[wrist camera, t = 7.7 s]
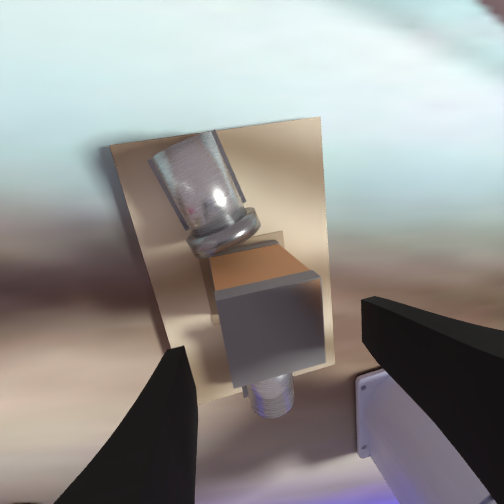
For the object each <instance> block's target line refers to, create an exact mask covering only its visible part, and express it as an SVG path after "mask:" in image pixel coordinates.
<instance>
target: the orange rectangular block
mask: <svg viewBox="0 0 504 504" xmlns="http://www.w3.org/2000/svg"><path fill="white" fill-rule="evenodd" d="M208 258H209V263H210V268H211V273H212V278H213V283H214V288H215V291H214V294H215V300H216V305H217V310H218V315H219V320H220V325H221V330H222V334H223V339H224V344H225V349H226V354H227V359H228V364H229V369H230V373H231V378H232V383H233V388H234V389H235V388H239V387H242V386H246V385H249V384H253V383H256V382H260V381H263V380H267V379H270V378H274V377H277V376H281V375H284V374H288V373H292V372H295V371H299V370H302V369H306V368H309V367H313V366H316V365H320V364H323V363H326V352H325V334H324V316H323V298H322V280H321V276H319V275H318V274H317V273H316V272H315V271H313V270H309V269H308V268H307V267H306V266H305V265H303V264H302V263H301V262H300V261H299V260H297V259H296V258H295V257H294V256H293V255H291V254H290V253H289V252H288V251H287V250H285V249H284V248H283V247H282V246H281V245H280V244H279V242H278V241H276V240H271V241H266V242H261V243H255V244H250V245H245V246H240V247H235V248H232V249H230V250H228V251H225V252H223V253H220V254H217V255H214V256H211V257H208Z"/></svg>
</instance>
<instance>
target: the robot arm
mask: <svg viewBox="0 0 504 504" xmlns="http://www.w3.org/2000/svg"><path fill="white" fill-rule="evenodd" d="M361 314H362V342H363V343H364V345H365V346H366V348H367V349H368V350H369V352H370V353H371V355H372V356H373V357H374V358H375V360H376V361H377V362H378V364H379V365H380V366H381V367H382V368H383V369H380V370H376V371H373V372H370V373H367V374H364V375H360V376H358V377H357V379H356V381H355V385H356V420H357V453H358V455H359V457H360V458H366V457H369V456H371V458H372V460H373V461H374V463H375V464H376V466H377V468H378V469H379V471H380V472H381V474H382V476H383V477H384V479H385V480H386V482H387V484H388V485H389V487H390V488H391V490H392V492H393V493H394V495H395V497H396V498H397V500H398V501H399V503H400V504H504V331H502V330H497V329H492V328H488V327H483V326H479V325H475V324H471V323H467V322H463V321H460V320H456V319H452V318H448V317H445V316H441V315H438V314H434V313H431V312H428V311H424V310H421V309H418V308H415V307H411V306H408V305H405V304H402V303H398V302H395V301H392V300H388V299H385V298H381V297H376V296H373V297H370V298H366V299H362V300H361ZM197 432H198V406H197V391H196V385H195V382H194V378H193V375H192V371H191V368H190V364H189V361H188V357H187V354H186V350H185V346H184V345H183V346H179V347H176V348H172V349H168V350H167V351H166V352H165V354H164V356H163V357H162V359H161V361H160V362H159V364H158V366H157V368H156V369H155V371H154V373H153V374H152V376H151V378H150V379H149V381H148V383H147V384H146V386H145V387H144V389H143V390H142V392H141V394H140V395H139V397H138V398H137V400H136V401H135V403H134V404H133V406H132V407H131V409H130V410H129V412H128V413H127V414H126V416H125V417H124V419H123V420H122V422H121V423H120V425H119V426H118V427H117V429H116V430H115V431H114V433H113V434H112V435H111V437H110V438H109V439H108V441H107V442H106V443H105V445H104V446H103V447H102V448H101V449H100V451H99V452H98V453H97V454H96V456H95V457H94V458H93V459H92V461H91V462H90V463H89V464H88V465H87V467H86V468H85V469H84V470H83V471H82V472H81V473H80V475H79V476H78V477H77V478H76V479H75V480H74V481H73V482H72V483H71V485H70V486H69V487H68V488H67V489H66V490H65V491H64V492H63V494H62V495H61V496H60V497H59V498H58V499H57V500H56V501H55V503H54V504H195V474H196V454H197Z"/></svg>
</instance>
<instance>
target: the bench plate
mask: <svg viewBox="0 0 504 504" xmlns="http://www.w3.org/2000/svg"><path fill="white" fill-rule="evenodd" d="M216 133H217V135H218V137H219V140H220V142H221V144H222V146H223V149H224V151H225V153H226V156H227V158H228V160H229V163H230V165H231V167H232V169H233V172H234V174H235V176H236V179H237V181H238V183H239V185H240V188H241V190H242V192H243V195H244V197H245V199H246V201H247V202H245V203H243V205H244V207H245V208H247V207H253V208H254V209H255V211H256V213H257V216H258V218H259V220H260V223H261V227H260V229H259V230H258V231H257V232H256V233H255V234H254V235H253V236H252V237H250V238H249V239H248V240H246V241H244V242H243V243H241V244H239V245H238V246H236V247H240V246H245V245H250V244H255V243H261V242H266V241H271V240H276V241H278V242H279V244H280V245H281V246H282V247H283V248H284V249H285V250H287V251H288V252H289V253H290V254H291V255H293V256H294V257H295V258H296V259H297V260H299V261H300V262H301V263H302V264H303V265H305V266H306V267H307V268H308V269H309V270H313V271H315V272H316V273H317V274H318V275H319V276H321V280H322V298H323V316H324V334H325V352H326V363H323V364H320V365H316V366H313V367H309V368H306V369H302V370H299V371H295V372H292V375H293V377H294V376H297V375H300V374H304V373H307V372H310V371H314V370H317V369H320V368H324V367H327V366H330V365H334V364H335V357H334V340H333V322H332V305H331V288H330V271H329V254H328V237H327V220H326V203H325V186H324V169H323V152H322V135H321V118H320V117H314V118H307V119H299V120H292V121H285V122H277V123H270V124H263V125H255V126H248V127H240V128H233V129H226V130H218V131H216ZM198 134H201V133H196V134H189V135H181V136H174V137H167V138H159V139H152V140H145V141H137V142H130V143H122V144H115V145H109V146H110V149H111V153H112V156H113V159H114V162H115V166H116V169H117V172H118V176H119V179H120V182H121V185H122V189H123V192H124V195H125V198H126V202H127V205H128V208H129V212H130V215H131V218H132V221H133V225H134V228H135V231H136V235H137V238H138V241H139V244H140V248H141V251H142V254H143V258H144V261H145V264H146V267H147V271H148V274H149V277H150V281H151V284H152V287H153V290H154V294H155V297H156V300H157V303H158V307H159V310H160V313H161V317H162V320H163V323H164V326H165V330H166V333H167V336H168V340H169V343H170V346H171V349H172V348H176V347H179V346H183V345H184V346H185V350H186V354H187V357H188V361H189V364H190V368H191V371H192V375H193V378H194V382H195V385H196V391H197V405H200V404H203V403H206V402H210V401H213V400H216V399H220V398H223V397H227V396H230V395H233V394H237V393H240V392H243V391H242V387H239V388H235V389H234V388H233V383H232V378H231V373H230V369H229V364H228V359H227V354H226V349H225V344H224V339H223V334H222V330H221V325H220V320H219V315H218V310H217V305H216V300H215V294H214V291H215V288H214V283H213V278H212V273H211V268H210V263H209V258H208V257H206V258H197V257H195V256H194V254H193V252H192V251H191V249H190V247H189V245H188V243H187V242H186V240H187V238H188V237H189V235H190V234H192V233H191V231H190V229H188V230H186V231H185V229H184V227H183V225H182V223H181V222H180V220H179V218H178V216H177V214H176V213H175V211H174V209H173V207H172V205H171V203H170V202H169V200H168V198H167V196H166V194H165V193H164V191H163V189H162V187H161V185H160V183H159V182H158V180H157V178H156V176H155V174H154V173H153V171H152V169H151V167H150V165H149V163H148V162H147V160H149V159H151V158H152V157H153V156H155V155H156V154H158V153H159V152H161V151H163V150H164V149H166V148H168V147H170V146H172V145H174V144H176V143H179V142H181V141H183V140H185V139H188V138H190V137H193V136H195V135H198ZM234 248H235V247H234Z"/></svg>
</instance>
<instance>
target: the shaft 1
mask: <svg viewBox="0 0 504 504" xmlns="http://www.w3.org/2000/svg"><path fill="white" fill-rule="evenodd" d="M147 162H148V163H149V165H150V167H151V169H152V171H153V173H154V174H155V176H156V178H157V180H158V182H159V183H160V185H161V187H162V189H163V191H164V193H165V194H166V196H167V198H168V200H169V202H170V203H171V205H172V207H173V209H174V211H175V213H176V214H177V216H178V218H179V220H180V222H181V223H182V225H183V227H184V229H185V231H186V230H188V229H190V231H191V233H192V234H190V235H189V237H188V238H187V240H186V242H187V243H188V245H189V247H190V249H191V251H192V252H193V254H194V256H195V257H197V258H206V257H211V256H214V255H217V254H220V253H223V252H225V251H228V250H230V249H232V248H234V247H236V246H238V245H239V244H241V243H243V242H244V241H246V240H248V239H249V238H250V237H252V236H253V235H254V234H255V233H256V232H257V231H258V230H259V229H260V227H261V223H260V220H259V218H258V216H257V213H256V211H255V209H254V208H253V207H247V208H245V207H244V205H243V203H245V202H247V201H246V199H245V197H244V195H243V192H242V190H241V188H240V185H239V183H238V181H237V179H236V176H235V174H234V172H233V169H232V167H231V165H230V163H229V160H228V158H227V156H226V153H225V151H224V149H223V146H222V144H221V142H220V140H219V137H218V135H217V133H216V130H213V131H208V132H204V133H201V134H198V135H195V136H193V137H190V138H188V139H185V140H183V141H181V142H179V143H176V144H174V145H172V146H170V147H168V148H166V149H164V150H163V151H161V152H159V153H158V154H156V155H155V156H153V157H152V158H151V159H149V160H147Z"/></svg>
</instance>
